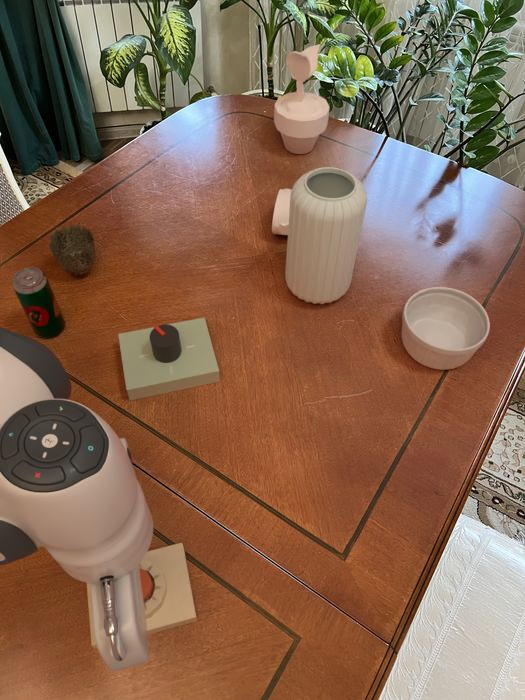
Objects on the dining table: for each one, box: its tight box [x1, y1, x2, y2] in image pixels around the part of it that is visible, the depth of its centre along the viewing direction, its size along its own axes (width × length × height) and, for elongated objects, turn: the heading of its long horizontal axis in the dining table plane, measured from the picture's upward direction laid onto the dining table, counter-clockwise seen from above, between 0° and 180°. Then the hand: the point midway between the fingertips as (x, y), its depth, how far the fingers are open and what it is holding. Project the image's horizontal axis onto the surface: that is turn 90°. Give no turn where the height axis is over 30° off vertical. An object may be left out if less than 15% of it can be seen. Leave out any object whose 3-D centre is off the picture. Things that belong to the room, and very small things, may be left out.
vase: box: [284, 166, 368, 305], centre depth 93 cm, size 12×12×22 cm
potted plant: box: [273, 41, 330, 155], centre depth 118 cm, size 13×12×25 cm
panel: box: [117, 317, 221, 402], centre depth 90 cm, size 14×11×3 cm
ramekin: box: [401, 286, 491, 371], centre depth 92 cm, size 13×13×7 cm
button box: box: [86, 542, 198, 650], centre depth 68 cm, size 12×9×4 cm
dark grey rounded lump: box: [47, 223, 96, 278], centre depth 100 cm, size 8×7×8 cm
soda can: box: [12, 266, 66, 339], centre depth 90 cm, size 5×5×12 cm
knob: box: [150, 324, 182, 363], centre depth 87 cm, size 4×4×4 cm
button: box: [139, 568, 153, 602], centre depth 66 cm, size 4×4×2 cm
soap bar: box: [271, 187, 292, 236], centre depth 108 cm, size 12×9×8 cm
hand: (128, 573), depth 62 cm, fingers closed
